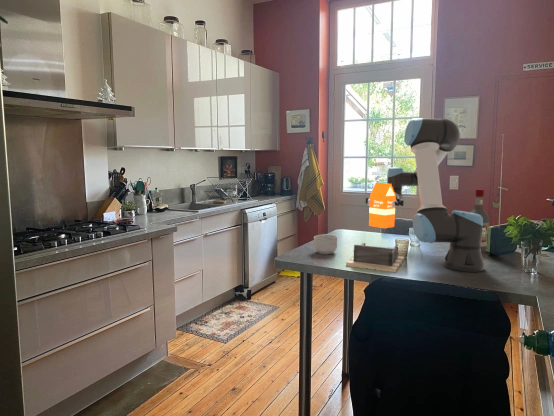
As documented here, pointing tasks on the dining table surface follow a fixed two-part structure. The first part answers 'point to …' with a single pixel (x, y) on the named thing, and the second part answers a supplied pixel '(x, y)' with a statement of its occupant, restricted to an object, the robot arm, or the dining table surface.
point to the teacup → (325, 243)
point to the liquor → (479, 210)
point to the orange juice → (382, 206)
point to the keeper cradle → (376, 258)
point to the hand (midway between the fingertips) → (380, 203)
